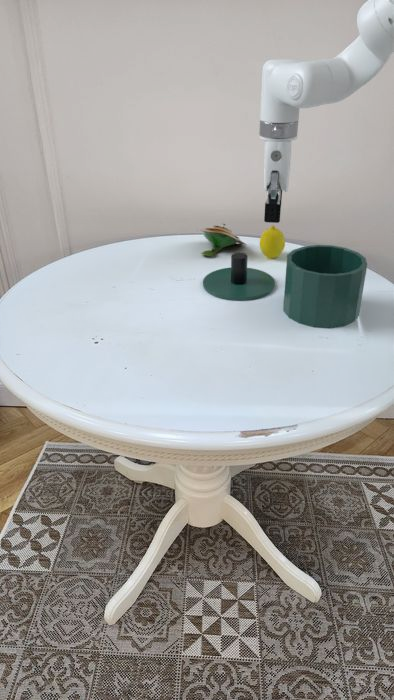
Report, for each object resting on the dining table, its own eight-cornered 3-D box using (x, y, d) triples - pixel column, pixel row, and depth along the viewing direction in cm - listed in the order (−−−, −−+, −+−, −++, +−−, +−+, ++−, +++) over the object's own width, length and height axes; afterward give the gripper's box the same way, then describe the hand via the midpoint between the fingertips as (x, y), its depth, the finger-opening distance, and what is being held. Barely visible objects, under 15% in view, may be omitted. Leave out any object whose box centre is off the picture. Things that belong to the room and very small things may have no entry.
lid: (275, 273, 114) (277, 243, 110) (273, 305, 101) (275, 272, 98) (208, 270, 116) (207, 240, 112) (197, 301, 103) (196, 268, 100)
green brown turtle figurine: (247, 265, 117) (258, 227, 116) (189, 248, 116) (199, 210, 115) (237, 269, 132) (246, 235, 131) (185, 254, 130) (194, 220, 130)
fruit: (288, 260, 119) (291, 225, 115) (270, 266, 117) (272, 231, 113) (272, 252, 123) (274, 219, 119) (253, 258, 121) (255, 224, 116)
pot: (354, 297, 103) (362, 246, 98) (361, 333, 92) (370, 277, 86) (283, 294, 105) (287, 243, 100) (282, 328, 94) (286, 273, 88)
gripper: (297, 139, 98) (289, 229, 107) (297, 122, 112) (290, 202, 121) (256, 138, 99) (252, 227, 108) (261, 121, 113) (257, 201, 122)
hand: (272, 214), depth 115 cm, fingers open, 9 cm apart
